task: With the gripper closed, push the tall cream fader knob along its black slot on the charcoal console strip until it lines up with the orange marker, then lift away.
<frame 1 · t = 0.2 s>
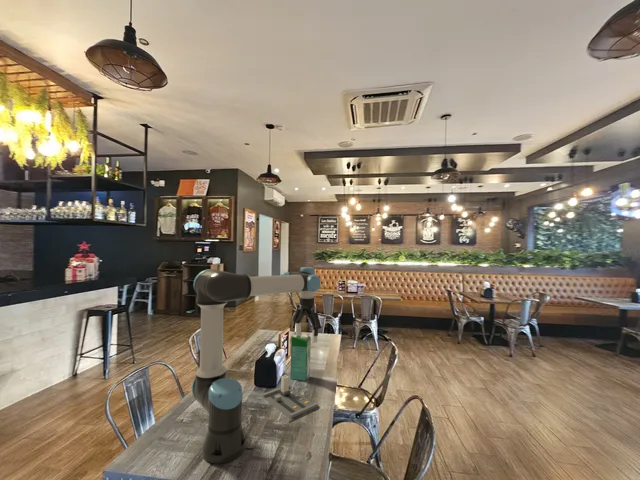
hand: (306, 338, 151), 27 cm above the table, fingers open, 13 cm apart
fader: (285, 384, 146), point 6 cm above the table, slide at 0.0 cm
console: (289, 404, 139), on the table
milk carton: (300, 379, 166), on the table
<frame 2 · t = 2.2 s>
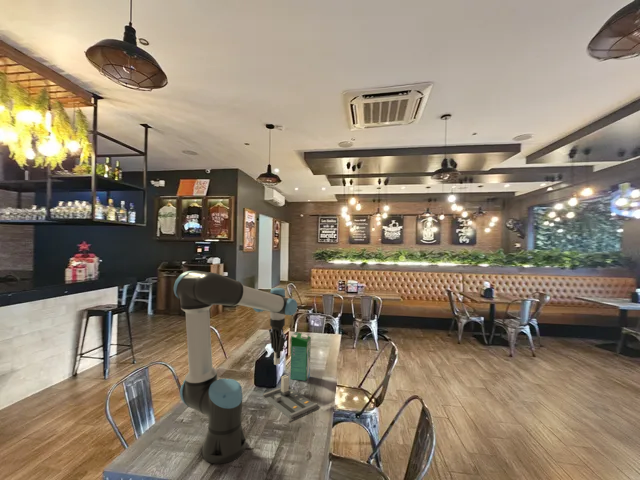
hand: (277, 363, 152), 14 cm above the table, fingers closed
nothing on the table moved.
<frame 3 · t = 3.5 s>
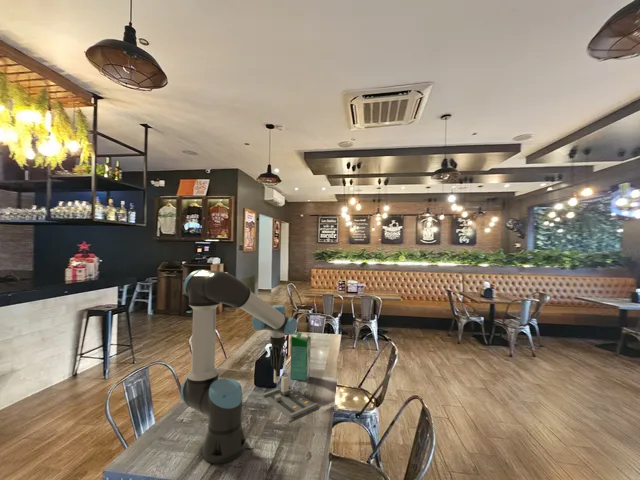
hand: (276, 381, 151), 5 cm above the table, fingers closed
nothing on the table moved.
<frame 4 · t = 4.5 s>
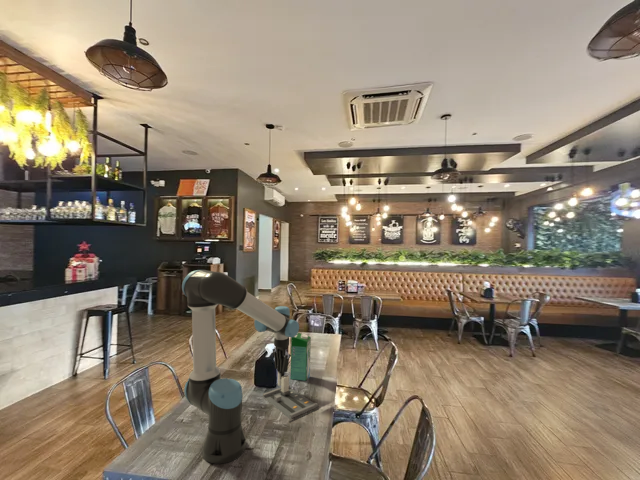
hand: (280, 384, 149), 5 cm above the table, fingers closed
fader: (285, 384, 146), point 6 cm above the table, slide at 0.1 cm, touching gripper
everything else where it was.
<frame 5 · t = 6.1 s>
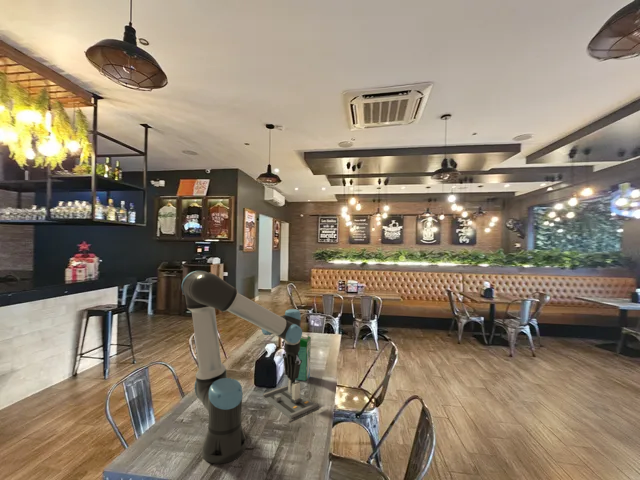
hand: (291, 391, 142), 5 cm above the table, fingers closed
fader: (296, 391, 139), point 6 cm above the table, slide at 9.2 cm, touching gripper
everything else where it was.
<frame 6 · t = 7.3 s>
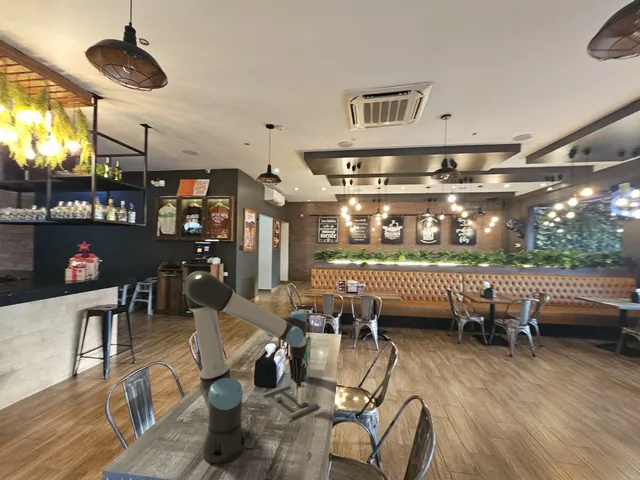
hand: (297, 395, 138), 5 cm above the table, fingers closed
fader: (301, 395, 135), point 6 cm above the table, slide at 13.8 cm, touching gripper
everything else where it was.
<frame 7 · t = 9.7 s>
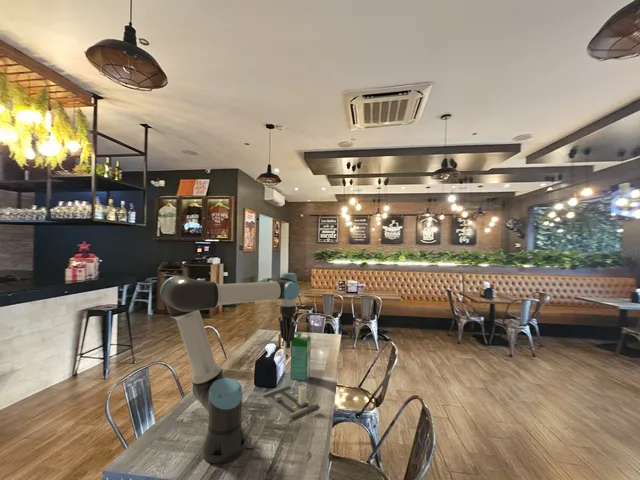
hand: (286, 354, 142), 23 cm above the table, fingers closed
fader: (302, 395, 135), point 6 cm above the table, slide at 14.1 cm
everything else where it was.
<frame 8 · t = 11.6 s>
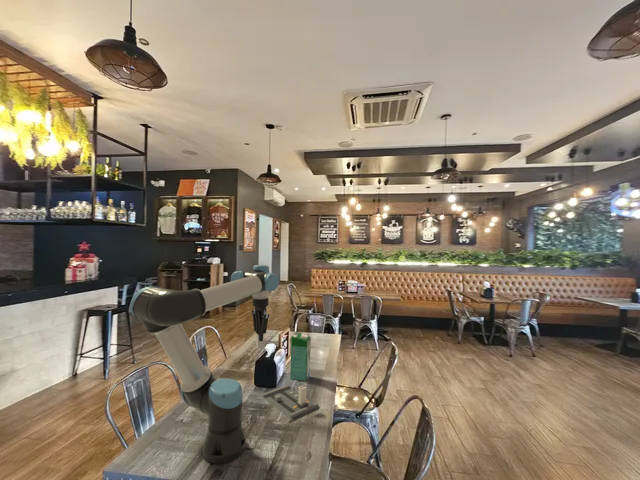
hand: (259, 347, 140), 26 cm above the table, fingers closed
nothing on the table moved.
at the end: fader 0.8 cm from the target spot on the console, point 6.2 cm above the console's base; fader moved 14.1 cm from its start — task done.
